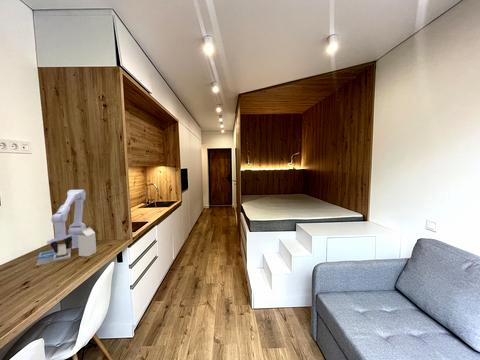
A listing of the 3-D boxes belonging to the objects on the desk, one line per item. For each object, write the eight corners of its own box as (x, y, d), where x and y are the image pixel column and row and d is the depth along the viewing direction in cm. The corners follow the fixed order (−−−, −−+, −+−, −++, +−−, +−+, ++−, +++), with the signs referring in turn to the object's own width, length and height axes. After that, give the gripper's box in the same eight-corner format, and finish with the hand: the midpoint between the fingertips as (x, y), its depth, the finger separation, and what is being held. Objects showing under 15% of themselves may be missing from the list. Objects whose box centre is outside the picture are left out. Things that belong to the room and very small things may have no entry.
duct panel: (71, 248, 158) (70, 246, 158) (70, 258, 142) (70, 256, 141) (40, 254, 147) (39, 252, 147) (35, 266, 131) (35, 263, 131)
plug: (66, 251, 146) (65, 243, 145) (66, 253, 143) (65, 245, 142) (58, 253, 143) (57, 244, 143) (57, 255, 140) (56, 247, 139)
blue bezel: (56, 250, 153) (56, 249, 153) (55, 255, 144) (55, 254, 144) (40, 254, 147) (40, 252, 147) (38, 259, 139) (38, 257, 139)
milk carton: (96, 252, 151) (94, 227, 149) (88, 257, 144) (86, 230, 142) (87, 252, 152) (85, 226, 150) (79, 256, 145) (77, 230, 143)
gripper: (68, 227, 150) (69, 245, 151) (43, 233, 136) (45, 254, 137) (74, 228, 147) (76, 247, 148) (50, 235, 134) (52, 255, 135)
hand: (61, 250), depth 143 cm, fingers closed on plug, 6 cm apart
